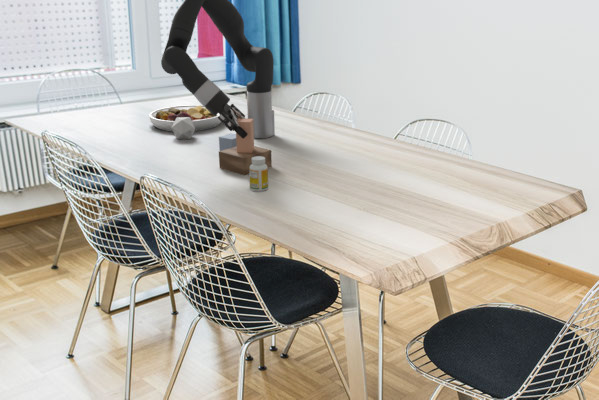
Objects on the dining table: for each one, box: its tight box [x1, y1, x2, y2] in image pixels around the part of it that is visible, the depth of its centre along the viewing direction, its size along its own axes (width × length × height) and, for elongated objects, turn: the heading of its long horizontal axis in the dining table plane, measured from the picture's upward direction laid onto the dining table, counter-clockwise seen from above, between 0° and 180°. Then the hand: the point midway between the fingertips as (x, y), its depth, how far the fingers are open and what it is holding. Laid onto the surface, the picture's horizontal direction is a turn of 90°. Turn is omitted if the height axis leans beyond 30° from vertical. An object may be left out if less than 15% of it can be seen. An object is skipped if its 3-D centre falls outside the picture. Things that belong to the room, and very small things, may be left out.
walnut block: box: [218, 145, 273, 176], centre depth 231 cm, size 12×12×6 cm
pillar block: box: [235, 118, 255, 153], centre depth 229 cm, size 5×5×10 cm
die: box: [172, 117, 196, 140], centre depth 268 cm, size 8×9×10 cm
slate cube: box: [218, 132, 237, 151], centre depth 248 cm, size 6×6×6 cm
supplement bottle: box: [249, 156, 269, 193], centre depth 210 cm, size 5×5×10 cm
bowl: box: [148, 104, 222, 132], centre depth 289 cm, size 30×30×8 cm
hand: (248, 133), depth 228 cm, fingers open, 8 cm apart
